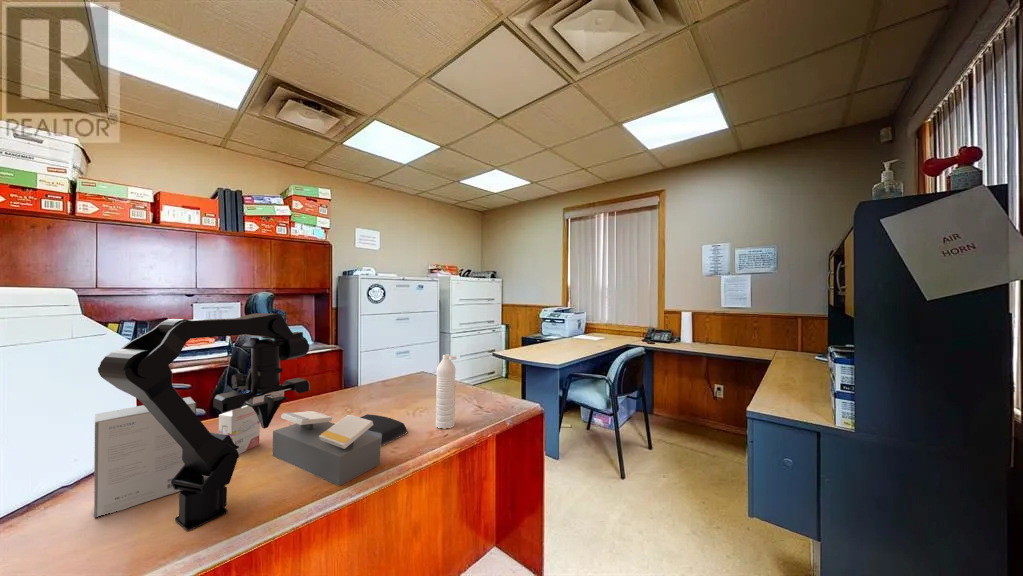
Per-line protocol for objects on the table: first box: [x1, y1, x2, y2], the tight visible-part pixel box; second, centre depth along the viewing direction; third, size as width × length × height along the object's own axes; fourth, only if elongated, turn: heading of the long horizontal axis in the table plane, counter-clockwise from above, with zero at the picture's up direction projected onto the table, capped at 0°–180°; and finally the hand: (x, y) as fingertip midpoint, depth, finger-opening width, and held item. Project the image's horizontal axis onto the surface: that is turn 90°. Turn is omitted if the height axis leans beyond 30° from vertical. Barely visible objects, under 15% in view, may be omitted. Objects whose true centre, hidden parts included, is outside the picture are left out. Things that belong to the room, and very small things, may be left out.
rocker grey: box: [280, 410, 333, 425], centre depth 99 cm, size 9×10×1 cm
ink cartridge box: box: [218, 404, 261, 455], centre depth 99 cm, size 9×5×15 cm, turn 168°
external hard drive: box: [360, 414, 408, 447], centre depth 112 cm, size 13×19×4 cm
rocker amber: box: [319, 413, 373, 449], centre depth 90 cm, size 9×10×1 cm
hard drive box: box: [93, 396, 197, 518], centre depth 77 cm, size 16×8×20 cm, turn 141°
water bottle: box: [435, 353, 457, 429], centre depth 118 cm, size 9×6×25 cm
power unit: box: [272, 421, 381, 487], centre depth 94 cm, size 12×30×9 cm, turn 61°
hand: (265, 427), depth 83 cm, fingers closed
